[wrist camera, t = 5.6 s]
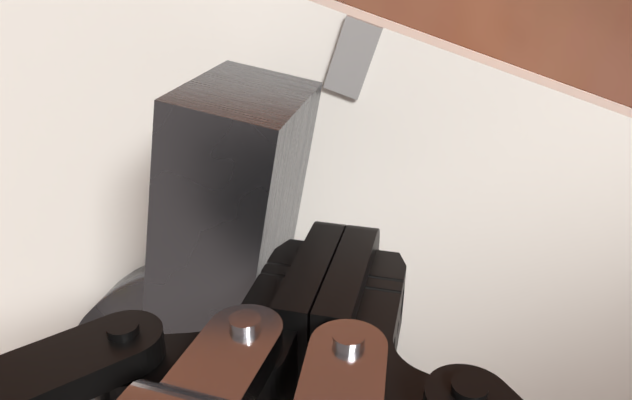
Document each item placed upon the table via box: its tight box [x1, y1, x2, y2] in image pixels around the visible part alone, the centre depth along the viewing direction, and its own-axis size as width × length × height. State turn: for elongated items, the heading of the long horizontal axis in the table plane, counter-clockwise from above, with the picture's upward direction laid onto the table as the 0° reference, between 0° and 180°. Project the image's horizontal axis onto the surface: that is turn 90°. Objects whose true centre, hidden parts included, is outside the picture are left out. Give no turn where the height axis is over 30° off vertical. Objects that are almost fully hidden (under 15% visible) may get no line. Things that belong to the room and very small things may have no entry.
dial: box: [78, 60, 323, 400], centre depth 18 cm, size 18×12×6 cm, turn 170°
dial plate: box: [0, 0, 632, 400], centre depth 22 cm, size 28×28×2 cm
